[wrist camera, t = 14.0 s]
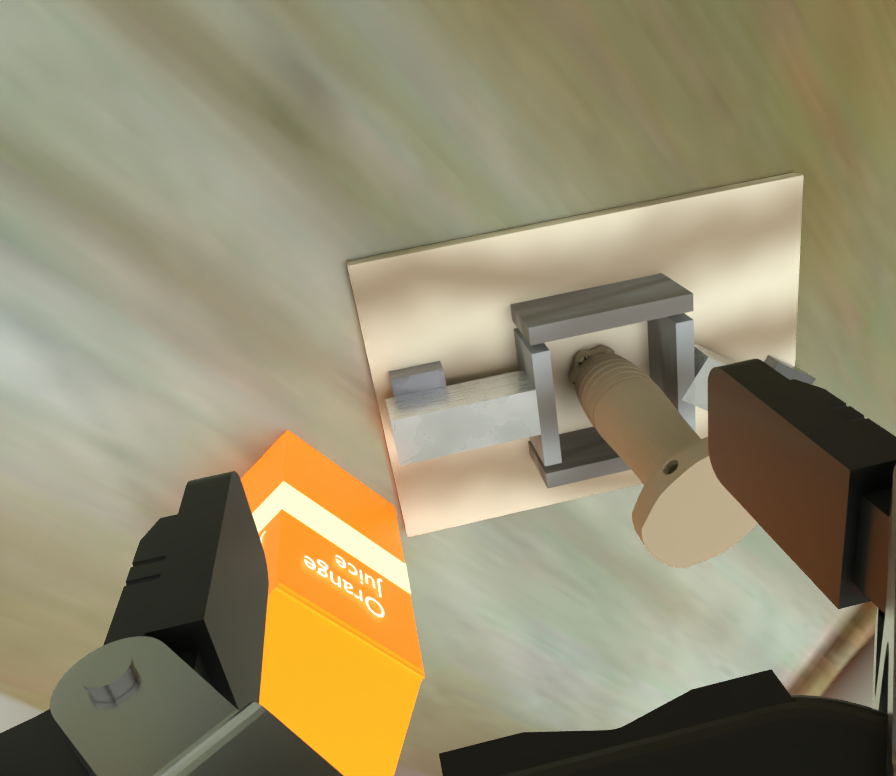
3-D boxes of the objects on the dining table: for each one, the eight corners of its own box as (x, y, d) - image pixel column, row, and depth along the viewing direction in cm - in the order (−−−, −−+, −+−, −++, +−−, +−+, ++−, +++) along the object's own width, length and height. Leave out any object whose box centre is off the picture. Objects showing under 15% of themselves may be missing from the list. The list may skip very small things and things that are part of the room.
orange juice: (287, 427, 45) (270, 682, 27) (397, 505, 48) (446, 778, 30) (205, 515, 46) (136, 812, 28) (316, 585, 50) (318, 890, 32)
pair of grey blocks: (380, 373, 43) (386, 402, 40) (808, 282, 45) (851, 302, 42) (411, 516, 48) (419, 555, 44) (801, 427, 50) (839, 457, 46)
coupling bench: (346, 261, 41) (350, 287, 37) (793, 172, 43) (848, 187, 39) (405, 528, 49) (415, 576, 45) (782, 442, 51) (828, 480, 47)
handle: (527, 380, 45) (620, 528, 32) (607, 303, 44) (739, 423, 30) (578, 427, 47) (686, 584, 34) (656, 354, 46) (800, 488, 32)
